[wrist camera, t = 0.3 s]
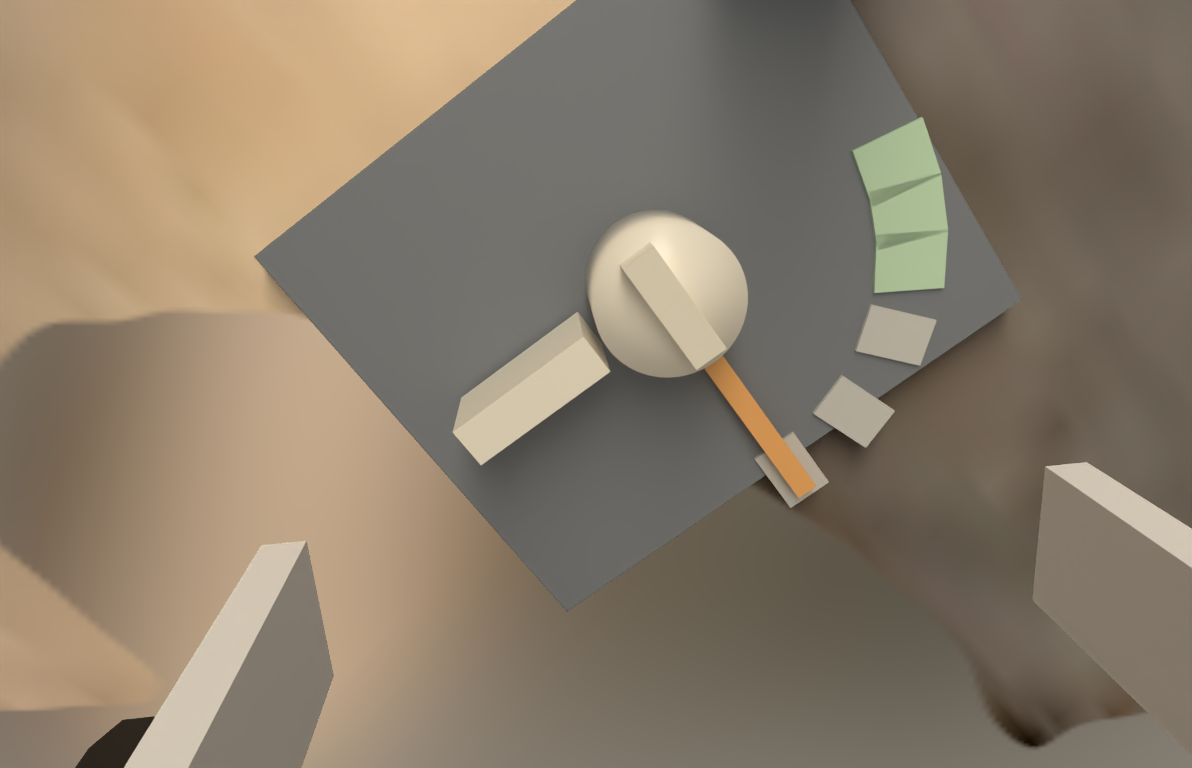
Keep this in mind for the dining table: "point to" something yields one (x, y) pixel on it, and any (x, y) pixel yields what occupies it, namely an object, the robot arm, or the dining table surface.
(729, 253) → the dial
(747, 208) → the tuner board
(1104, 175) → the dining table surface
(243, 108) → the dining table surface
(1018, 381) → the dining table surface
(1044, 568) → the robot arm
